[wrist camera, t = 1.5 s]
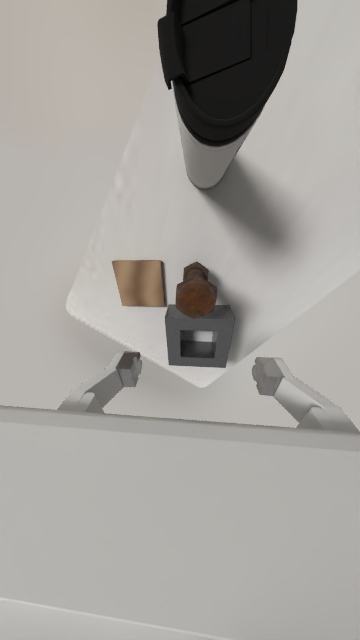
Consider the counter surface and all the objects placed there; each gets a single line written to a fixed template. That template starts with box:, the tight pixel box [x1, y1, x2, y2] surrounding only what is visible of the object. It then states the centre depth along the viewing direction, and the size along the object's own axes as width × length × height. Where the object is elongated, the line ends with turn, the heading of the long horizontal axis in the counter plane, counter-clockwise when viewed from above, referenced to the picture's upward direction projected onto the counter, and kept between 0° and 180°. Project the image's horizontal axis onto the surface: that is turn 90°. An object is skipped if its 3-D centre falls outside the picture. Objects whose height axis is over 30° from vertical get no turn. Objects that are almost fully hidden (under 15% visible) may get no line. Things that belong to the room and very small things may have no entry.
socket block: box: [165, 305, 235, 368], centre depth 38 cm, size 14×14×6 cm
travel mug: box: [158, 0, 297, 189], centre depth 15 cm, size 6×7×20 cm
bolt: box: [176, 262, 217, 319], centre depth 26 cm, size 6×5×15 cm
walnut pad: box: [112, 260, 165, 306], centre depth 34 cm, size 10×10×1 cm
